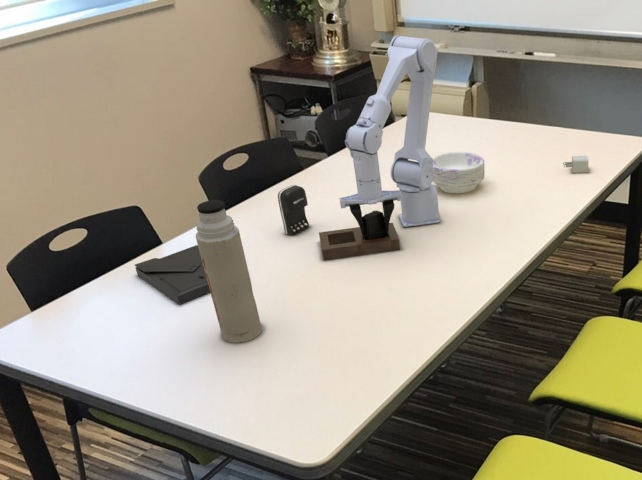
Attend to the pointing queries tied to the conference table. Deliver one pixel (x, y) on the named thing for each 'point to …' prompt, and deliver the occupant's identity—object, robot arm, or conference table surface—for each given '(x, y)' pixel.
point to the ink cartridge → (374, 225)
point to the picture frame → (177, 275)
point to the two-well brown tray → (356, 243)
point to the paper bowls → (458, 171)
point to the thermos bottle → (227, 273)
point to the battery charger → (293, 209)
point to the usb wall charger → (578, 164)
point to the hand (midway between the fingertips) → (374, 231)
